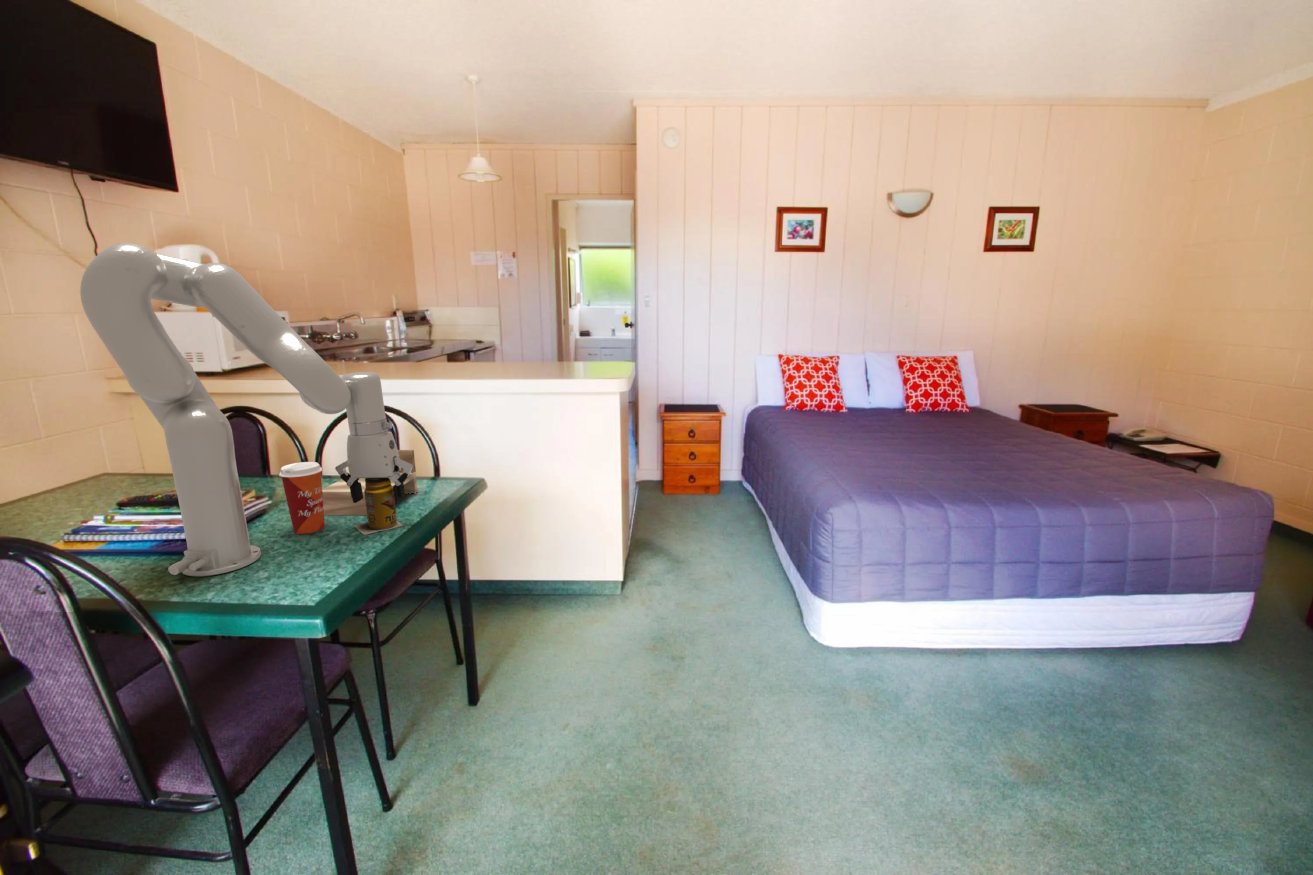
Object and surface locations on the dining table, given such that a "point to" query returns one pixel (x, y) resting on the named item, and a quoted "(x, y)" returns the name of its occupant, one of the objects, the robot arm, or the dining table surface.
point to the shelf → (340, 496)
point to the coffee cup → (304, 496)
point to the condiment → (379, 506)
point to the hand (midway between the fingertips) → (379, 500)
